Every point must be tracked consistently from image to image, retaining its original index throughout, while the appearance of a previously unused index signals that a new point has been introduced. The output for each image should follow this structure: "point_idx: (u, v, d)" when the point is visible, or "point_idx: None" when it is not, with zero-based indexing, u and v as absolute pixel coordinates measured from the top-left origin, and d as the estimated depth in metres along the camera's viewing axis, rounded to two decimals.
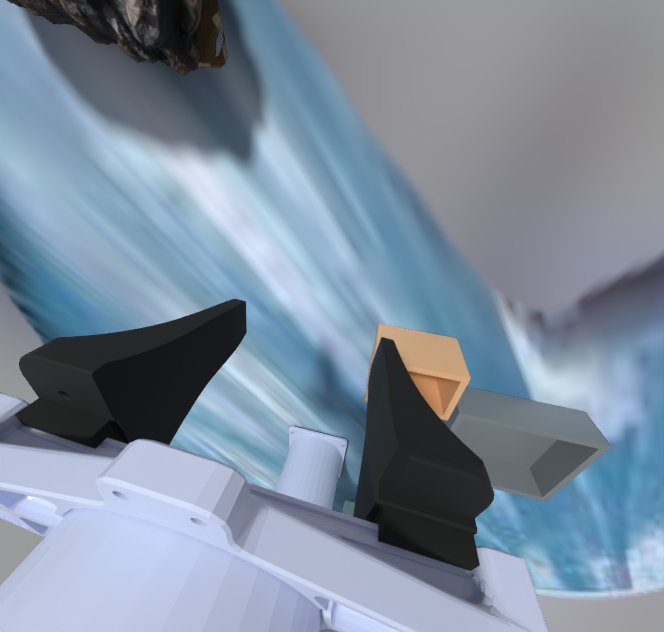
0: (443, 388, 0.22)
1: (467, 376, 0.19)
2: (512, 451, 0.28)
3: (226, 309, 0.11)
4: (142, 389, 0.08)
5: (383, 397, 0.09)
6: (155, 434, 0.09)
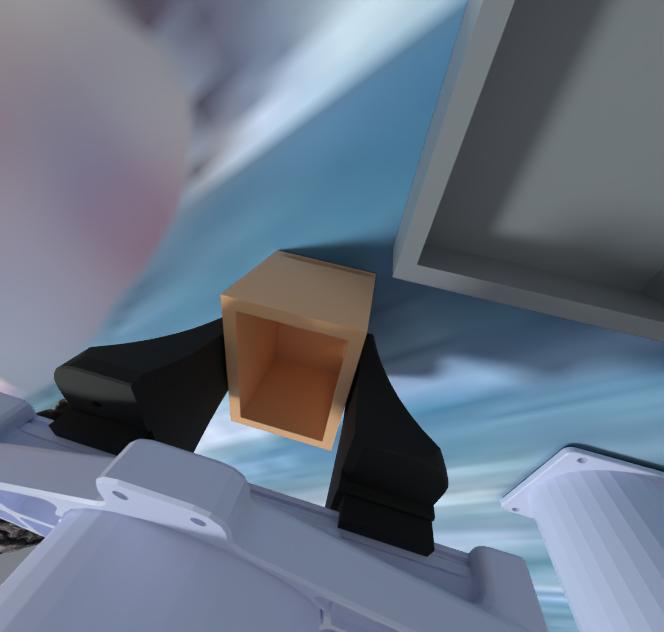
0: None
1: (224, 296, 0.09)
2: None
3: None
4: (173, 398, 0.08)
5: (355, 389, 0.09)
6: (182, 442, 0.09)
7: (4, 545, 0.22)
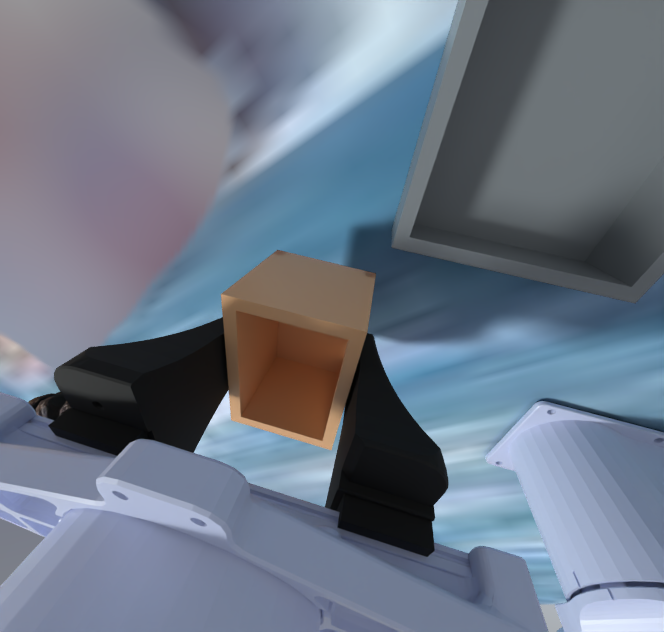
0: None
1: (224, 296, 0.09)
2: None
3: None
4: (173, 398, 0.08)
5: (355, 389, 0.09)
6: (182, 442, 0.09)
7: None
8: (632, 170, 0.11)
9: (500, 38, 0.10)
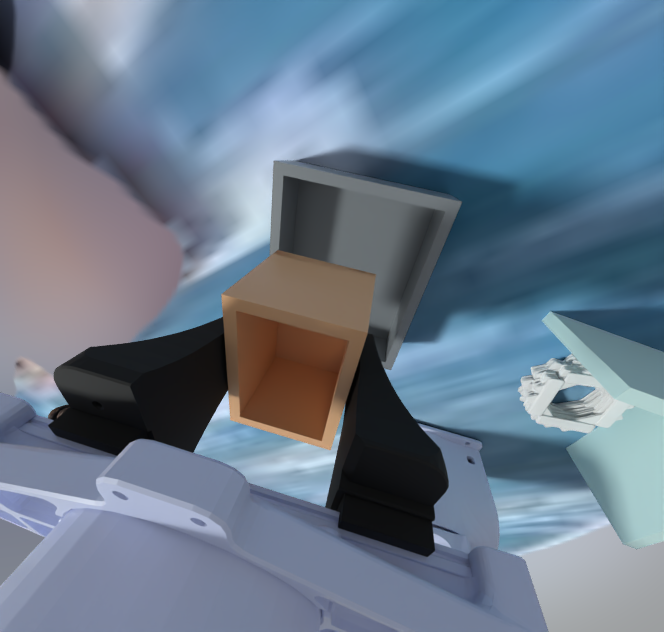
0: None
1: (224, 296, 0.09)
2: (389, 239, 0.18)
3: None
4: (172, 398, 0.08)
5: (355, 389, 0.09)
6: (182, 442, 0.09)
7: None
8: (391, 298, 0.20)
9: (310, 238, 0.19)
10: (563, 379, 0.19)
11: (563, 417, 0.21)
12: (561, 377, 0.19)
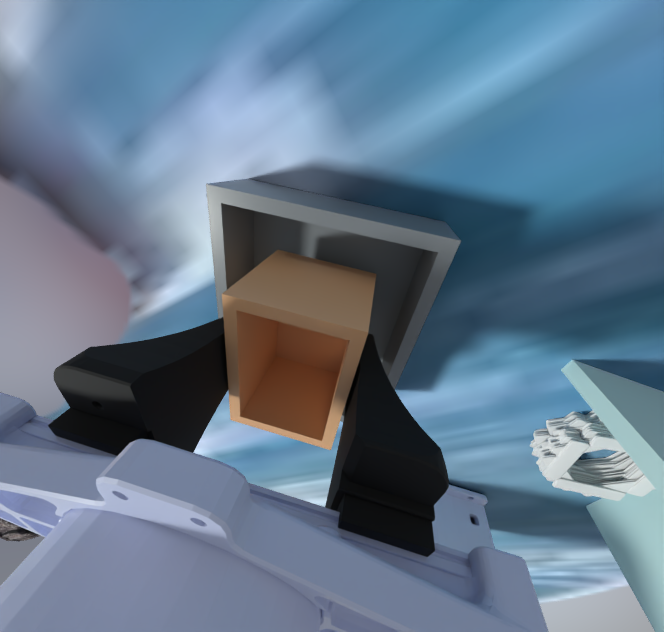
0: None
1: (225, 295, 0.09)
2: None
3: None
4: (172, 398, 0.08)
5: (355, 389, 0.09)
6: (182, 442, 0.09)
7: (21, 533, 0.30)
8: (376, 342, 0.16)
9: None
10: (588, 442, 0.15)
11: (586, 480, 0.17)
12: (585, 438, 0.16)
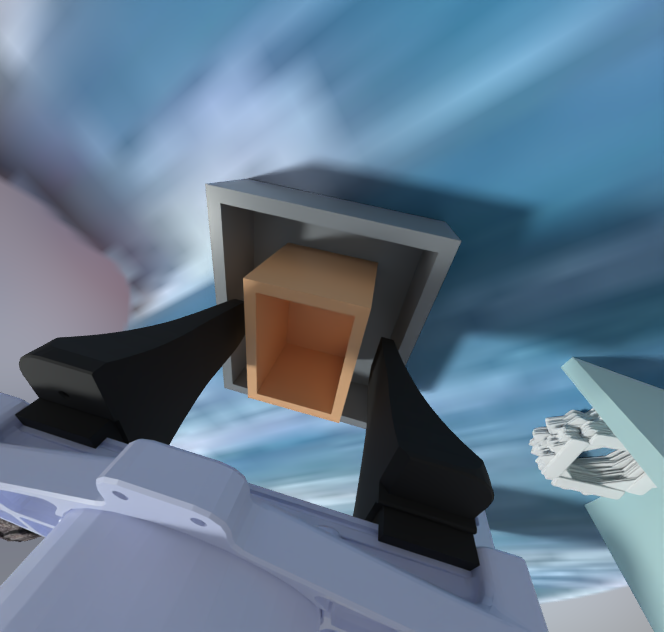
0: None
1: (245, 280, 0.10)
2: None
3: (226, 309, 0.11)
4: (142, 389, 0.08)
5: (383, 397, 0.09)
6: (155, 434, 0.09)
7: (22, 534, 0.30)
8: (376, 343, 0.16)
9: None
10: (587, 440, 0.15)
11: (585, 479, 0.17)
12: (585, 437, 0.15)
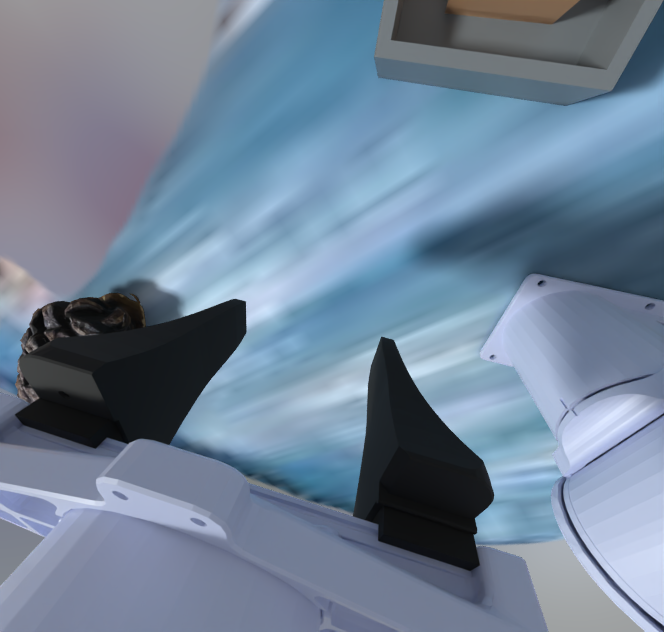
0: None
1: None
2: None
3: (226, 309, 0.11)
4: (142, 389, 0.08)
5: (383, 397, 0.09)
6: (155, 434, 0.09)
7: None
8: None
9: None
10: None
11: None
12: None
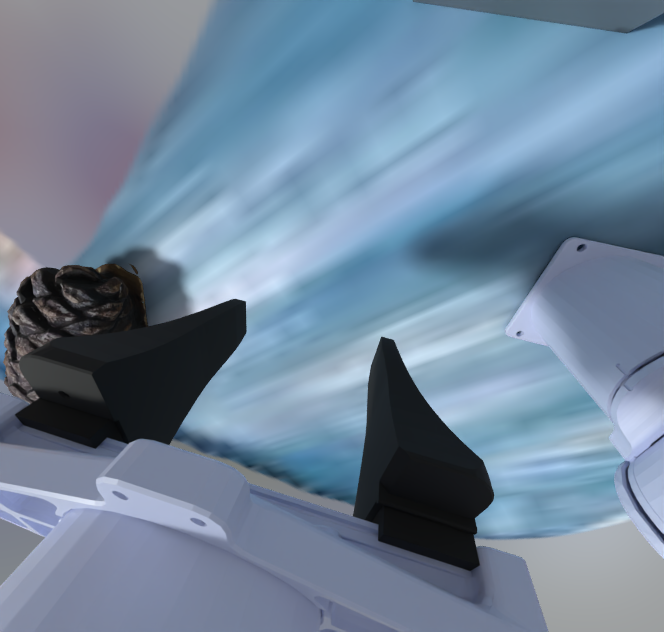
0: None
1: None
2: None
3: (226, 309, 0.11)
4: (142, 389, 0.08)
5: (383, 397, 0.09)
6: (155, 434, 0.09)
7: None
8: None
9: None
10: None
11: None
12: None
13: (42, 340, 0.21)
